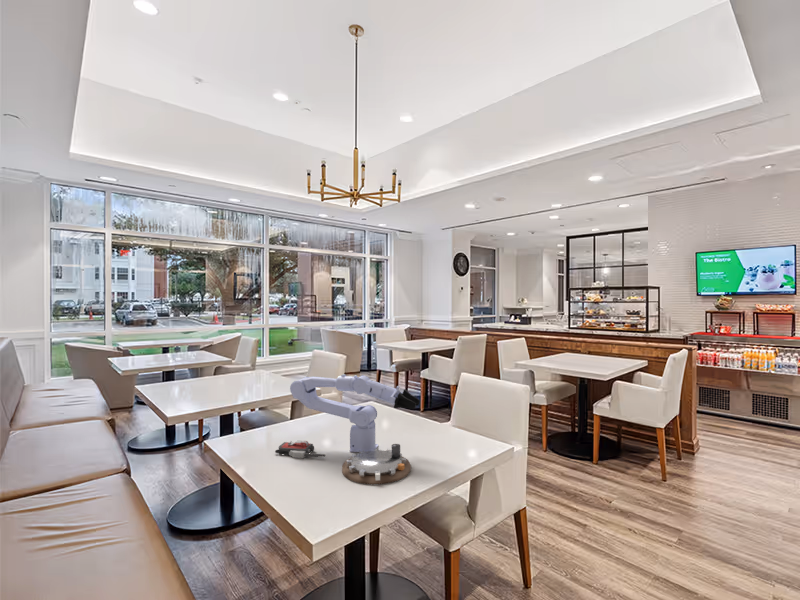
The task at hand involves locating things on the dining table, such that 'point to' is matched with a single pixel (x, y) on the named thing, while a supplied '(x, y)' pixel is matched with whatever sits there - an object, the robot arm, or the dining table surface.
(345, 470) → the sprocket base
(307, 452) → the walkie-talkie
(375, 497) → the dining table surface
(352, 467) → the sprocket
